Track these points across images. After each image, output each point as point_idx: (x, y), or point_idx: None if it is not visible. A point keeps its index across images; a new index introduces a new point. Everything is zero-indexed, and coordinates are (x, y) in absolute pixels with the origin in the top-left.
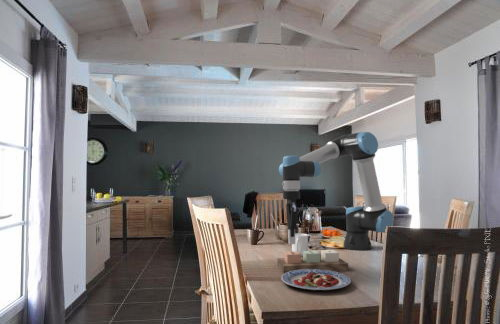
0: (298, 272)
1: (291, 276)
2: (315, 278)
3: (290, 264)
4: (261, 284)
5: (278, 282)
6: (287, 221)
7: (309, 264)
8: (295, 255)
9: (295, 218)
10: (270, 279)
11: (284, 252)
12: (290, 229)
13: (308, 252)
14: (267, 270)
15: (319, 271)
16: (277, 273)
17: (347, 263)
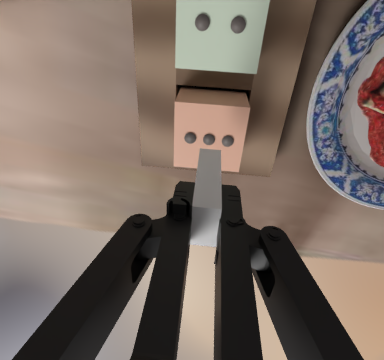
0: (330, 132)
1: (352, 166)
2: None
3: (257, 147)
4: (345, 241)
5: (354, 203)
6: (132, 285)
7: (291, 63)
8: (244, 133)
9: (336, 334)
10: (313, 214)
11: (175, 165)
12: (216, 238)
13: (219, 45)
14: None
15: (370, 35)
16: (259, 181)
17: None
